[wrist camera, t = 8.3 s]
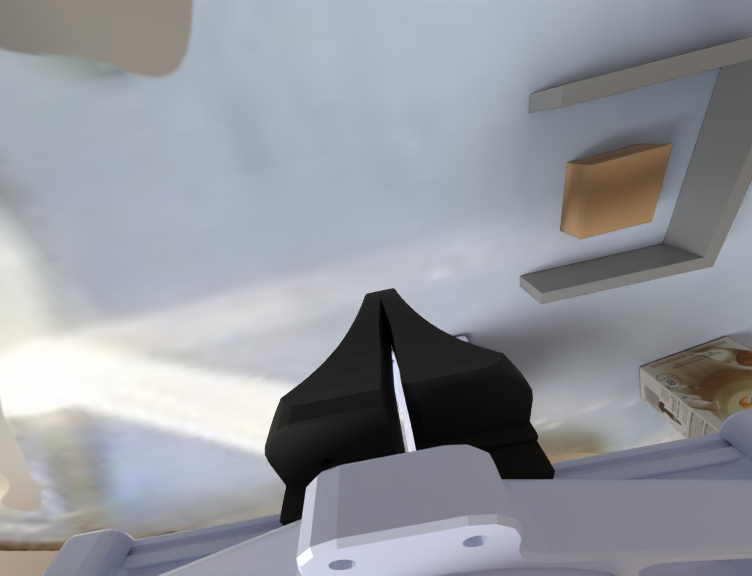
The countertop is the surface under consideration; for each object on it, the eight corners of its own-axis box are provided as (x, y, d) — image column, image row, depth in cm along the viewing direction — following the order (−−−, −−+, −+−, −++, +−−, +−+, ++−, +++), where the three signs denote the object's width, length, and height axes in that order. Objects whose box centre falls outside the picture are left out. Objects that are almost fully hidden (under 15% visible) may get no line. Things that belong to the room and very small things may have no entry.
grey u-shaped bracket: (671, 252, 23) (713, 266, 20) (519, 285, 23) (540, 304, 21) (746, 38, 16) (824, 18, 13) (529, 94, 16) (563, 85, 14)
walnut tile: (620, 213, 21) (652, 221, 19) (557, 229, 21) (580, 239, 19) (635, 143, 19) (672, 143, 16) (563, 162, 19) (591, 165, 17)
